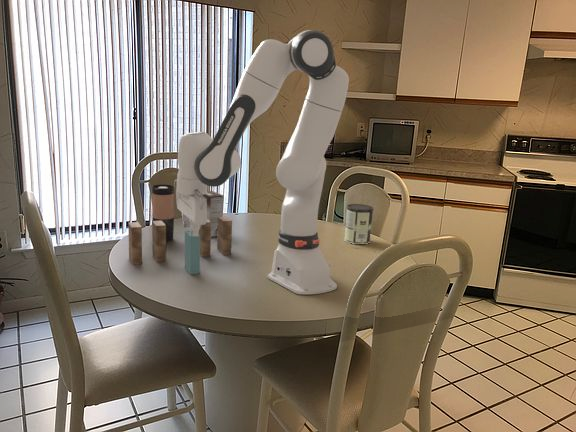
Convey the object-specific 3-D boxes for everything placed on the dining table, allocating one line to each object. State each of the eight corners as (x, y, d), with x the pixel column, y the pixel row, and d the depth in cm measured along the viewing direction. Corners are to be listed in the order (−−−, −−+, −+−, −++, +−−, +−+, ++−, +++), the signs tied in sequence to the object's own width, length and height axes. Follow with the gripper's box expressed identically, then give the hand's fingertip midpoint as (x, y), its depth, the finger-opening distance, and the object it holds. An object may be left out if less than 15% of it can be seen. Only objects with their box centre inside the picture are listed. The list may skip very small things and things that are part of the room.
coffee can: (356, 236, 196) (359, 202, 193) (375, 243, 188) (379, 208, 185) (338, 239, 190) (341, 205, 187) (356, 246, 182) (360, 210, 179)
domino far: (138, 257, 156) (138, 221, 153) (142, 263, 151) (141, 226, 148) (129, 258, 155) (128, 222, 152) (132, 264, 150) (131, 227, 147)
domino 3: (204, 250, 167) (205, 217, 164) (210, 256, 161) (210, 222, 159) (196, 251, 165) (196, 218, 162) (201, 257, 160) (202, 222, 157)
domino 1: (161, 255, 160) (161, 220, 157) (165, 260, 155) (165, 225, 152) (152, 255, 158) (152, 221, 155) (156, 261, 153) (156, 225, 150)
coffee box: (197, 231, 189) (197, 191, 185) (211, 229, 193) (211, 190, 189) (209, 237, 182) (209, 196, 178) (223, 235, 186) (224, 195, 182)
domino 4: (225, 248, 170) (226, 216, 167) (231, 254, 165) (232, 220, 162) (217, 249, 169) (217, 216, 166) (222, 254, 164) (223, 221, 161)
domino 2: (194, 266, 151) (194, 230, 148) (199, 273, 146) (200, 235, 143) (184, 267, 150) (184, 231, 147) (190, 274, 144) (190, 236, 142)
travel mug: (173, 236, 181) (173, 184, 176) (174, 242, 174) (174, 188, 169) (152, 236, 179) (152, 184, 174) (152, 242, 172) (151, 188, 167)
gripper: (213, 194, 134) (211, 240, 137) (192, 179, 151) (191, 221, 155) (191, 194, 131) (189, 242, 134) (172, 179, 148) (171, 222, 152)
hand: (190, 231), depth 145 cm, fingers open, 8 cm apart
